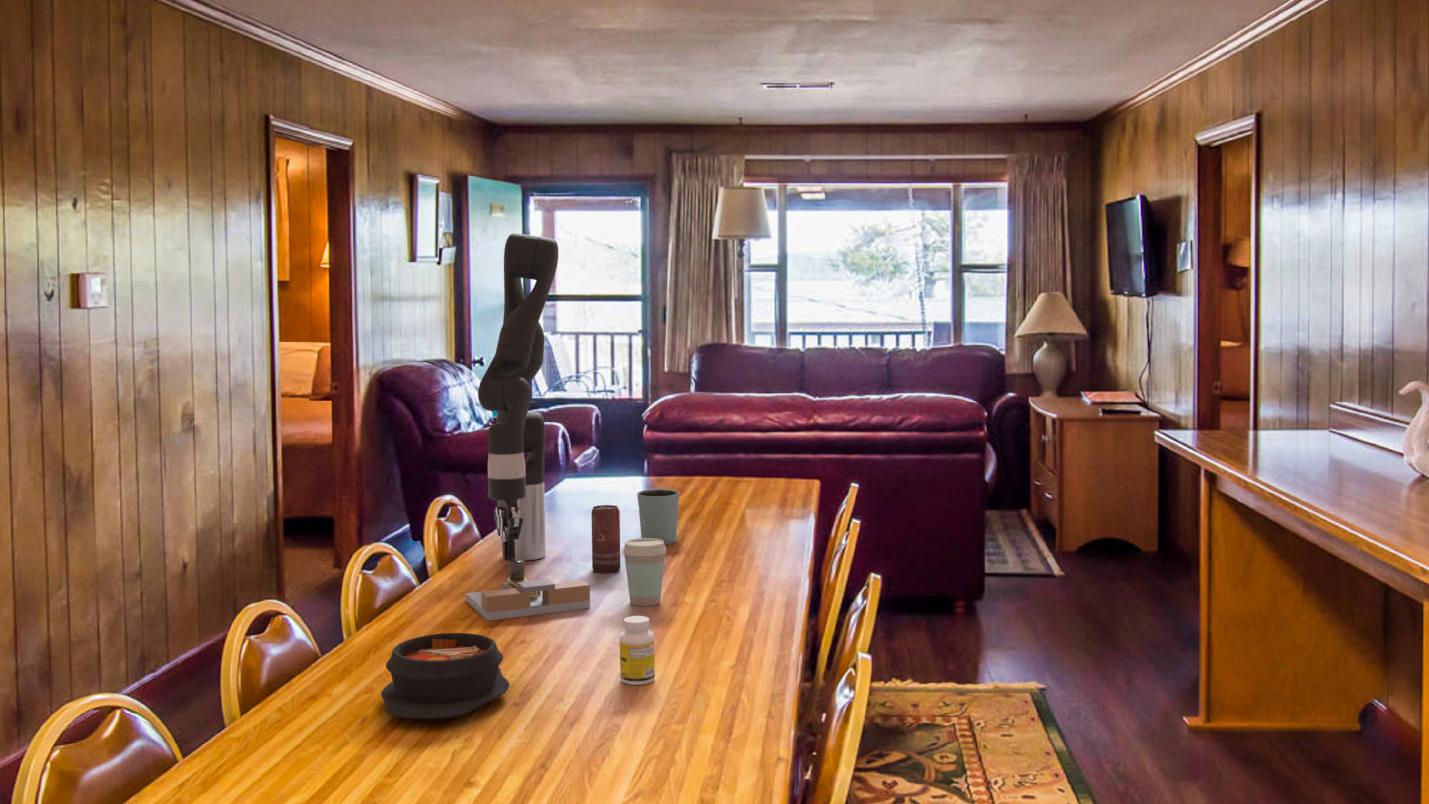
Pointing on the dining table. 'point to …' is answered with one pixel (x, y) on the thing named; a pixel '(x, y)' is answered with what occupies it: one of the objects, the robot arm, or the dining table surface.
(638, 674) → the supplement bottle
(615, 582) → the dining table surface
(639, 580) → the coffee cup
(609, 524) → the can
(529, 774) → the dining table surface
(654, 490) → the grey tapered cup
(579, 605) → the door plate
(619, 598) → the dining table surface
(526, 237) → the robot arm
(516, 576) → the bolt
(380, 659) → the dining table surface
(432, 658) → the casserole
